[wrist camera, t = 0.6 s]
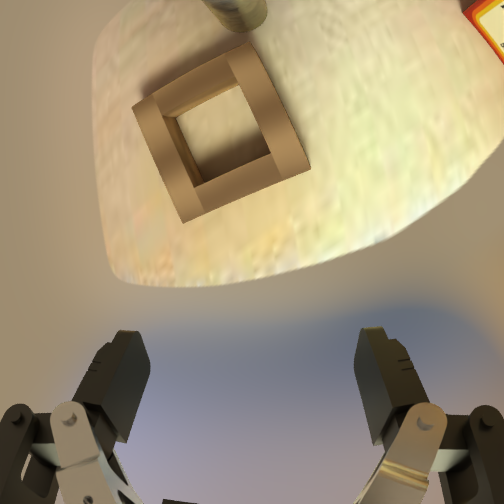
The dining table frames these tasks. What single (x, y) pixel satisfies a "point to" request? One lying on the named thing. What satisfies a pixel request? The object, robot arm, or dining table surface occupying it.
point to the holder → (178, 154)
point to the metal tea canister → (238, 13)
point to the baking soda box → (489, 23)
